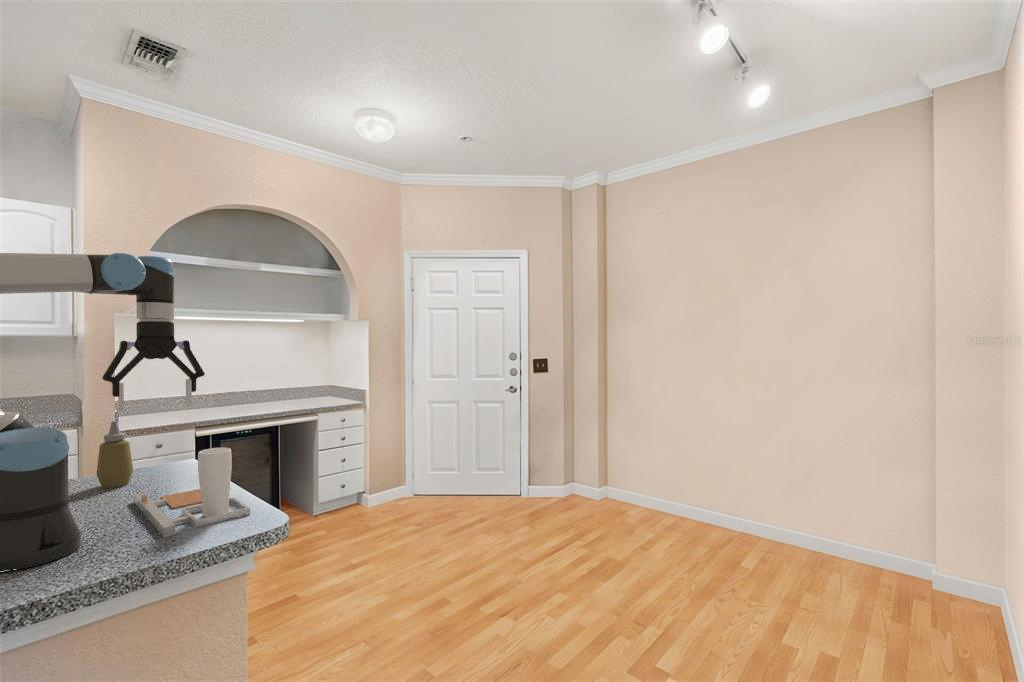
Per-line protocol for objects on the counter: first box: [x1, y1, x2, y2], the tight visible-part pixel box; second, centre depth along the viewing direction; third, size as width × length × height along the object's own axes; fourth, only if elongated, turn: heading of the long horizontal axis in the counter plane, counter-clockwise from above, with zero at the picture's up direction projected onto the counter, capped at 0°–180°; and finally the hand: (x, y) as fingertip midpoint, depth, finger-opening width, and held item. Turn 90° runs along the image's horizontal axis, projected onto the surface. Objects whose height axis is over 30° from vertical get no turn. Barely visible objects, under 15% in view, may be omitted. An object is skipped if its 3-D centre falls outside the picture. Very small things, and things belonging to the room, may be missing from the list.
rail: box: [133, 488, 251, 538], centre depth 121 cm, size 32×18×3 cm, turn 46°
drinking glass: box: [197, 447, 233, 518], centre depth 117 cm, size 7×7×15 cm
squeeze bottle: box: [96, 420, 134, 489], centre depth 141 cm, size 8×8×18 cm
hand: (156, 407), depth 123 cm, fingers open, 13 cm apart
